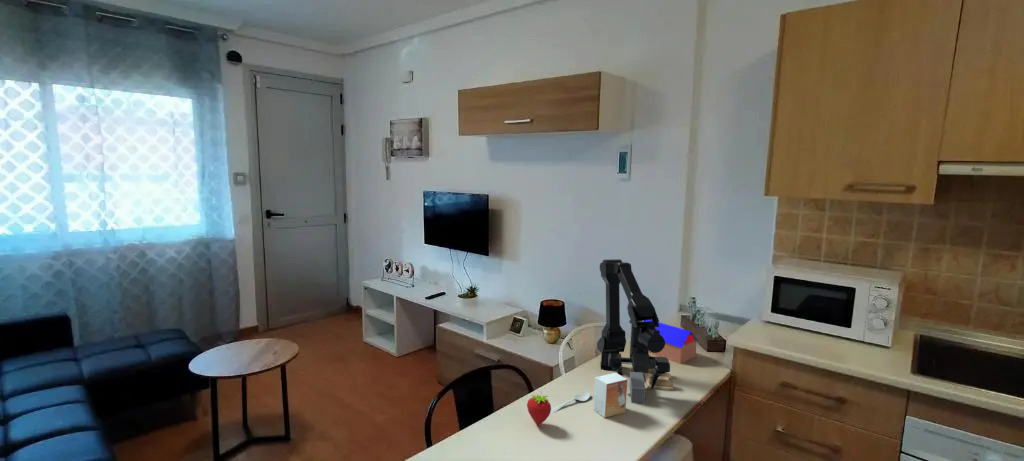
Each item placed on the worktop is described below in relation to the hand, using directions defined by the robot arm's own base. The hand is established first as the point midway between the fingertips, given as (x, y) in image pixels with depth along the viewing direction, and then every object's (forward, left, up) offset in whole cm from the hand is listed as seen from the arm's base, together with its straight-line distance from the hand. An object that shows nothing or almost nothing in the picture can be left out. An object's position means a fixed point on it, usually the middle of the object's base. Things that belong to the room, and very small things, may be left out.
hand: (636, 387), depth 155 cm
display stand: (+8, +12, -2) cm, 15 cm away
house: (+14, +39, -3) cm, 42 cm away
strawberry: (-29, -25, -2) cm, 38 cm away
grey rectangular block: (0, 0, -2) cm, 3 cm away
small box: (-9, -13, -2) cm, 16 cm away
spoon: (-22, -12, -3) cm, 25 cm away
